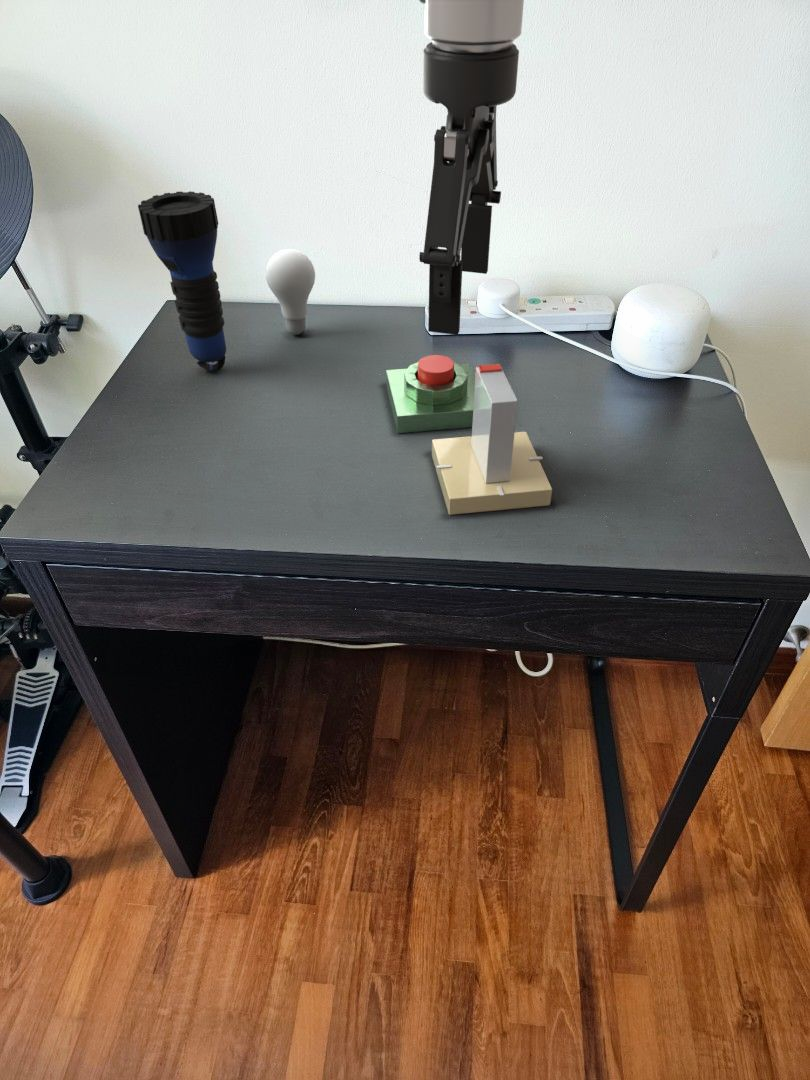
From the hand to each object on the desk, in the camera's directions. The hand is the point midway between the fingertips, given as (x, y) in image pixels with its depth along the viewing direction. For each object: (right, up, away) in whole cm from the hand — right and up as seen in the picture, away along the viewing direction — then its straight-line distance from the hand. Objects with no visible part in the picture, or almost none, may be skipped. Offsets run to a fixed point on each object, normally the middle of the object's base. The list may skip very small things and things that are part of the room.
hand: (459, 299), depth 76 cm
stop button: (-2, -5, +12) cm, 13 cm away
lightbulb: (-20, +4, +28) cm, 34 cm away
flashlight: (-29, -3, +21) cm, 36 cm away
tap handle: (+3, -15, +3) cm, 16 cm away
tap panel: (+3, -17, +4) cm, 18 cm away
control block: (-2, -8, +14) cm, 16 cm away
